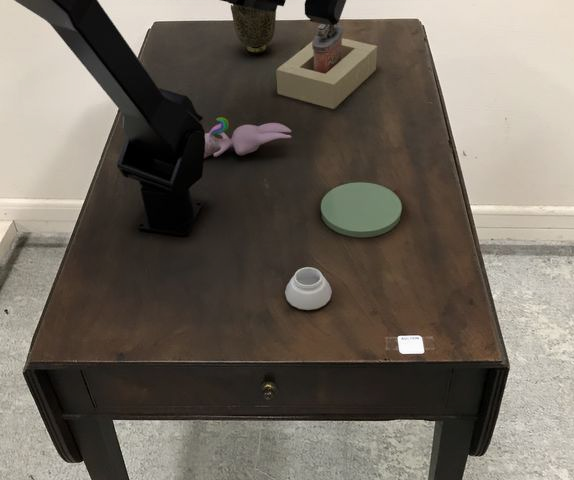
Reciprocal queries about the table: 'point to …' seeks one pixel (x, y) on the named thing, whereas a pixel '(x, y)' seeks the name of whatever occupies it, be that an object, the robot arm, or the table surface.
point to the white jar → (308, 289)
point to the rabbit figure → (242, 137)
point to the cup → (254, 27)
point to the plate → (361, 209)
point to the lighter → (327, 47)
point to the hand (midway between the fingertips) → (303, 14)
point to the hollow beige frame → (335, 83)
